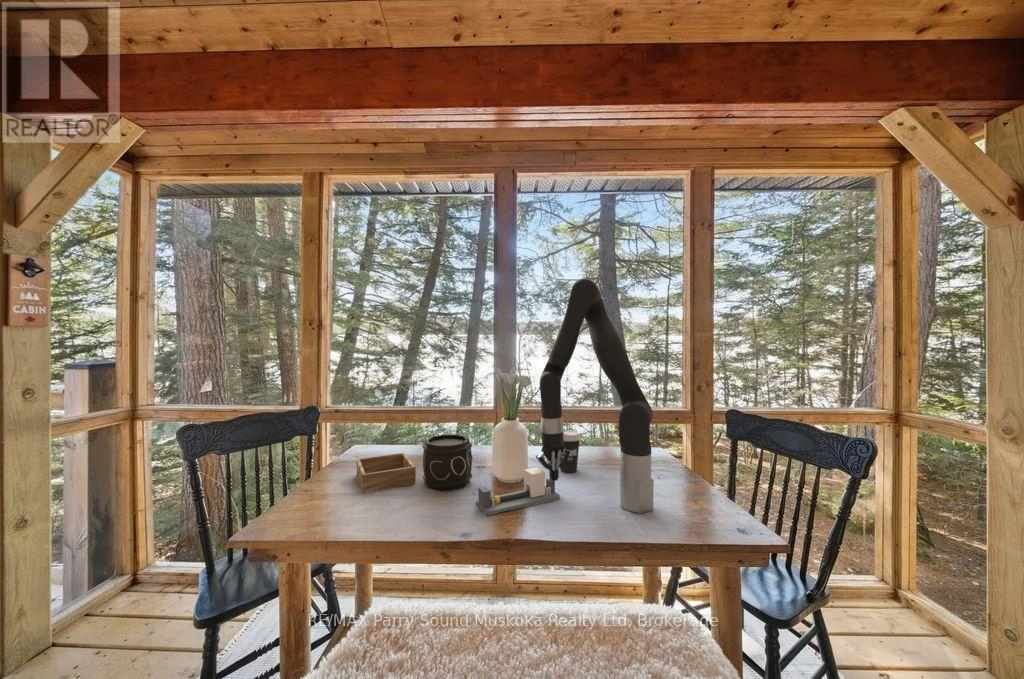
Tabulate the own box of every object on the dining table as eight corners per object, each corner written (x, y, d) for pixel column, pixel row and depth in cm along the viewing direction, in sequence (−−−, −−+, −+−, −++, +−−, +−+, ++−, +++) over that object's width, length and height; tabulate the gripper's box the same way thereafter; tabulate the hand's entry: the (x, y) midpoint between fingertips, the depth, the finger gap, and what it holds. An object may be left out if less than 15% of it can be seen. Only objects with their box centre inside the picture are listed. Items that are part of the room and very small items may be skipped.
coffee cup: (551, 468, 159) (551, 431, 159) (571, 465, 163) (572, 428, 163) (564, 476, 150) (564, 437, 150) (585, 472, 154) (585, 434, 154)
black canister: (479, 487, 139) (479, 443, 139) (428, 495, 133) (427, 449, 132) (466, 470, 156) (466, 431, 156) (419, 477, 149) (419, 435, 149)
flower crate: (415, 483, 143) (415, 466, 143) (362, 492, 135) (362, 475, 135) (404, 467, 160) (404, 452, 160) (356, 474, 152) (356, 459, 152)
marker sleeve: (537, 489, 134) (537, 467, 134) (545, 494, 130) (545, 472, 130) (524, 492, 132) (524, 469, 132) (531, 497, 128) (531, 474, 127)
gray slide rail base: (545, 489, 138) (545, 471, 138) (559, 498, 130) (559, 480, 130) (475, 504, 126) (475, 484, 126) (486, 515, 118) (486, 495, 118)
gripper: (541, 435, 128) (543, 488, 128) (574, 429, 134) (576, 479, 134) (529, 430, 134) (532, 480, 135) (562, 424, 140) (564, 472, 141)
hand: (554, 479), depth 135 cm, fingers closed
